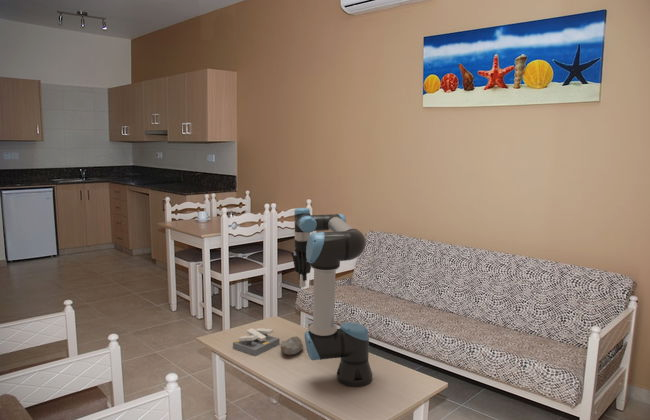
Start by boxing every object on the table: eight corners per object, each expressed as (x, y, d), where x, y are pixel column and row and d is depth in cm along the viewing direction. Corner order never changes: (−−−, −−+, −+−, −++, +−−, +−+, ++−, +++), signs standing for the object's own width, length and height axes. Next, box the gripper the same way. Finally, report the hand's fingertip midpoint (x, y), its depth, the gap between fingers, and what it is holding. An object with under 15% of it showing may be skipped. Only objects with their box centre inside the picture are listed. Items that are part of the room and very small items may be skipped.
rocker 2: (266, 339, 240) (266, 336, 240) (260, 342, 238) (261, 338, 237) (251, 331, 246) (251, 328, 245) (246, 333, 243) (246, 330, 242)
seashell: (294, 334, 245) (279, 326, 233) (311, 345, 238) (297, 337, 227) (284, 351, 243) (268, 343, 231) (301, 363, 236) (286, 355, 224)
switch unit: (279, 344, 245) (279, 334, 244) (255, 356, 231) (255, 346, 230) (257, 337, 253) (257, 328, 253) (232, 348, 240) (232, 339, 239)
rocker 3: (273, 332, 244) (273, 329, 244) (268, 334, 242) (268, 331, 241) (259, 331, 250) (258, 328, 250) (254, 333, 248) (253, 330, 247)
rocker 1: (258, 338, 236) (257, 335, 236) (252, 341, 233) (252, 337, 233) (244, 339, 242) (243, 336, 242) (238, 341, 239) (237, 338, 239)
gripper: (317, 240, 240) (317, 287, 243) (296, 237, 248) (297, 282, 251) (308, 242, 234) (308, 290, 237) (287, 239, 242) (287, 286, 245)
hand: (302, 286), depth 244 cm, fingers closed
